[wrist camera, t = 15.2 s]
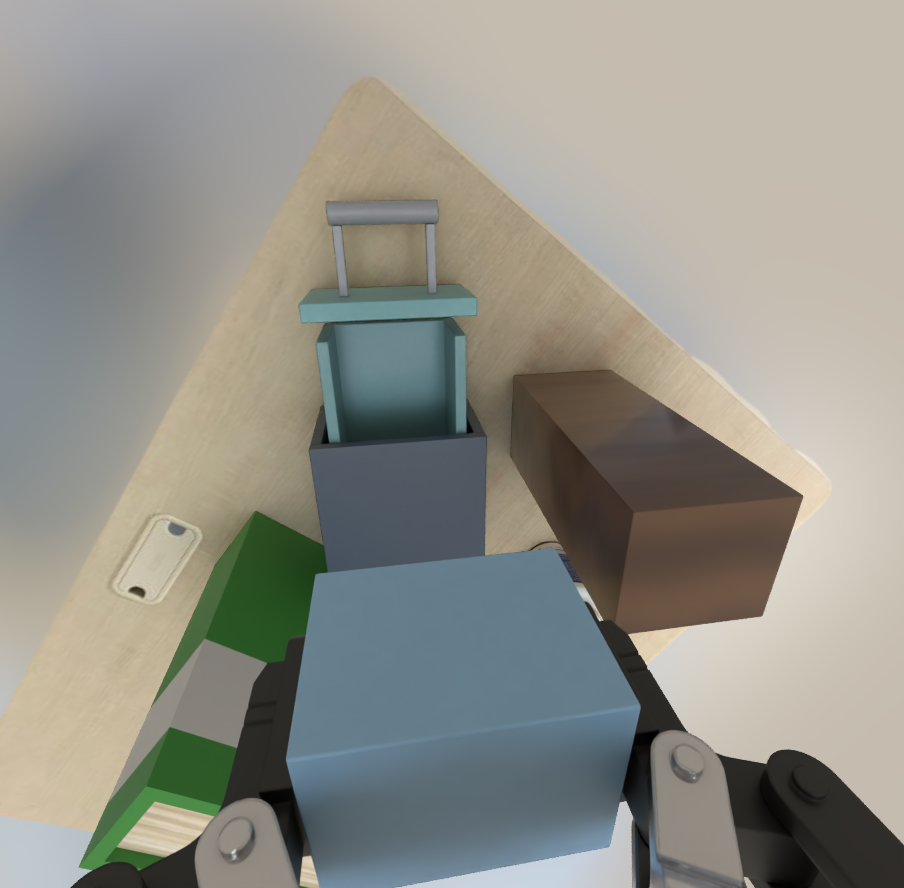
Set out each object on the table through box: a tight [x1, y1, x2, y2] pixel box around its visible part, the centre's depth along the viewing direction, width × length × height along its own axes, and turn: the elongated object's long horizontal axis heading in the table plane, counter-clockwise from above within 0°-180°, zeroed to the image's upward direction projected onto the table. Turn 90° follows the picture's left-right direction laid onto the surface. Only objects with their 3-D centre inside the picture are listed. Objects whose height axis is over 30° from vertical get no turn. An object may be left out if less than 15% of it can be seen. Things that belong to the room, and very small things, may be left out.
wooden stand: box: [510, 370, 803, 634], centre depth 35 cm, size 8×9×22 cm
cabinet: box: [309, 397, 487, 573], centre depth 41 cm, size 15×13×9 cm
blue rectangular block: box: [286, 548, 641, 888], centre depth 11 cm, size 6×4×4 cm
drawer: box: [299, 200, 477, 444], centre depth 36 cm, size 19×11×7 cm, turn 1°
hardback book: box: [79, 511, 328, 888], centre depth 38 cm, size 18×7×24 cm, turn 51°
